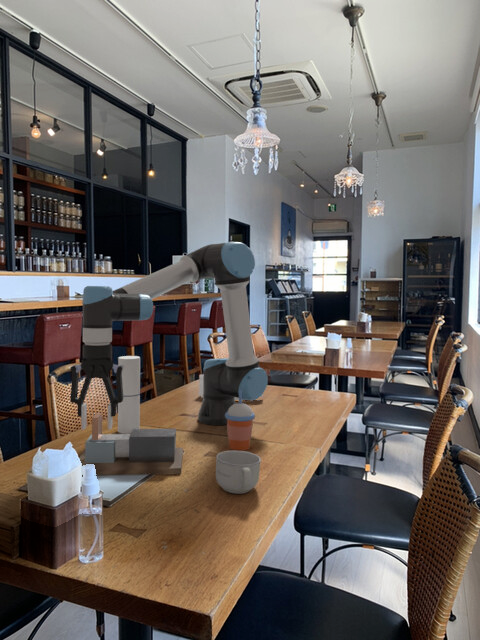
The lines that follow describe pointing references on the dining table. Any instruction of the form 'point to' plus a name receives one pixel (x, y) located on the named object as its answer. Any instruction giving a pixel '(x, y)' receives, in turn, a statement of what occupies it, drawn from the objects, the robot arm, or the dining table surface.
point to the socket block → (99, 452)
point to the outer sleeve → (152, 445)
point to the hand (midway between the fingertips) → (97, 427)
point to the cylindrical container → (129, 395)
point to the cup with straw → (239, 425)
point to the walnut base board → (137, 466)
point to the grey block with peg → (110, 437)
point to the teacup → (237, 471)
